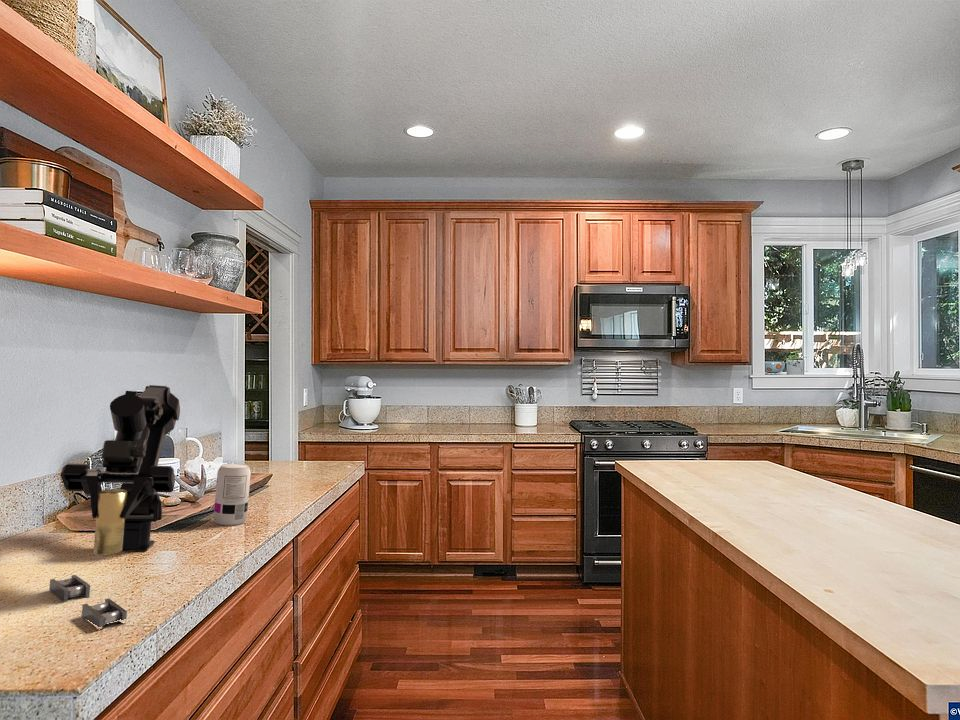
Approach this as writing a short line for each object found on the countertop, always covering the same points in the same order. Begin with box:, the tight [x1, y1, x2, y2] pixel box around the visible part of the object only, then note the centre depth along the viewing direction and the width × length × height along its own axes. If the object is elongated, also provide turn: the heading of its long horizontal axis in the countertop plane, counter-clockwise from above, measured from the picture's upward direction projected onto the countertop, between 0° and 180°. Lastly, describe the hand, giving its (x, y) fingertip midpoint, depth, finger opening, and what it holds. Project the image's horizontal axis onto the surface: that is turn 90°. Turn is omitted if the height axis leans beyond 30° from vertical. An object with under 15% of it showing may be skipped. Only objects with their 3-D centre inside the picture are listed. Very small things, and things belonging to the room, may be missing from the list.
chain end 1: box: [48, 574, 91, 603], centre depth 109 cm, size 7×4×2 cm, turn 52°
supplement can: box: [213, 462, 252, 526], centre depth 162 cm, size 8×8×15 cm
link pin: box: [93, 488, 127, 556], centre depth 114 cm, size 5×5×11 cm
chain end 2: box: [81, 598, 128, 627], centre depth 100 cm, size 7×4×2 cm, turn 52°
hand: (108, 517), depth 112 cm, fingers closed on link pin, 5 cm apart
